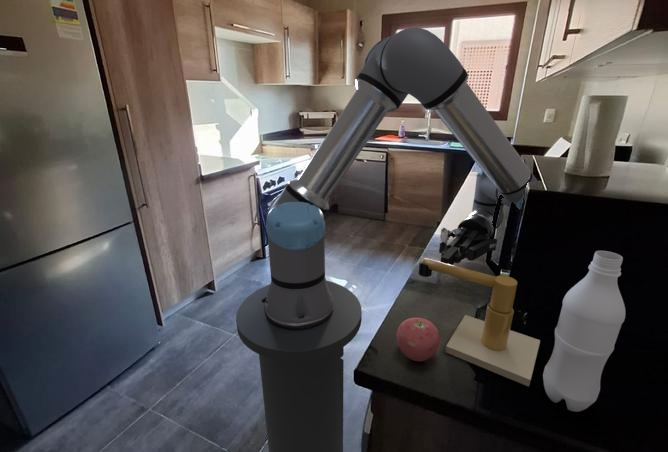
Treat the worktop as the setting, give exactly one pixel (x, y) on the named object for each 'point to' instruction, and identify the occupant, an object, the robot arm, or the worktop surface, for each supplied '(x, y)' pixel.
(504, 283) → the nozzle
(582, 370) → the water bottle
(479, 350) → the tap stand
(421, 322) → the apple
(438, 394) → the worktop surface
